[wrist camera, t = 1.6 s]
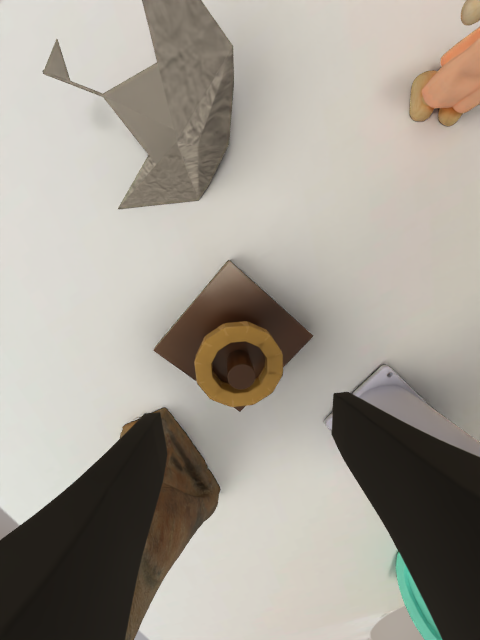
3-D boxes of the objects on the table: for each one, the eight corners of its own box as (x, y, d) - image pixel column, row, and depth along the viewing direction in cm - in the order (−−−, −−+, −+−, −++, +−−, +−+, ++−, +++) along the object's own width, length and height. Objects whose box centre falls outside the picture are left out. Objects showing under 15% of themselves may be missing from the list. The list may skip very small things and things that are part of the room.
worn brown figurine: (132, 410, 23) (-223, 765, 5) (183, 392, 23) (-9, 695, 5) (175, 515, 24) (-11, 1122, 6) (225, 498, 24) (180, 1069, 6)
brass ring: (297, 355, 16) (302, 362, 15) (242, 412, 16) (243, 422, 16) (234, 302, 14) (235, 305, 13) (177, 367, 15) (174, 374, 14)
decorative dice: (441, 574, 31) (515, 679, 23) (386, 574, 30) (444, 684, 22) (466, 528, 29) (555, 627, 21) (407, 527, 28) (479, 630, 20)
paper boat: (209, 255, 17) (49, 225, 13) (201, 211, 21) (76, 179, 17) (295, -23, 8) (-77, -309, 5) (254, -8, 12) (33, -159, 9)
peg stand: (308, 331, 20) (349, 366, 14) (238, 403, 21) (247, 466, 15) (228, 259, 18) (233, 262, 12) (156, 344, 19) (126, 388, 13)
